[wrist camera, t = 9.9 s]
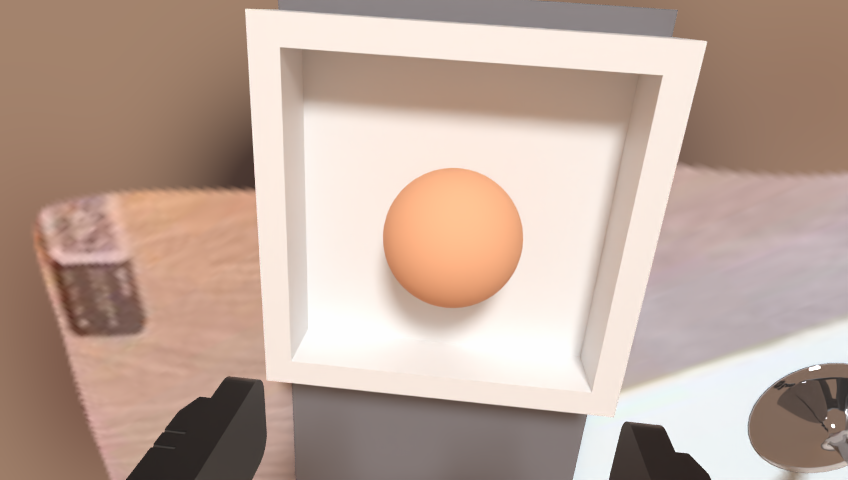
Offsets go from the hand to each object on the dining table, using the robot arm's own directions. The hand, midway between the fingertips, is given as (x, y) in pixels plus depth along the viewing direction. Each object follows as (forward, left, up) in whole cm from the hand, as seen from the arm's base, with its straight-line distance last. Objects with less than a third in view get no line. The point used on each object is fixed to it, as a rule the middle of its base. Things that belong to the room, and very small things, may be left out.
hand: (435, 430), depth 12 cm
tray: (0, 0, -14) cm, 14 cm away
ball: (0, 0, -11) cm, 11 cm away
